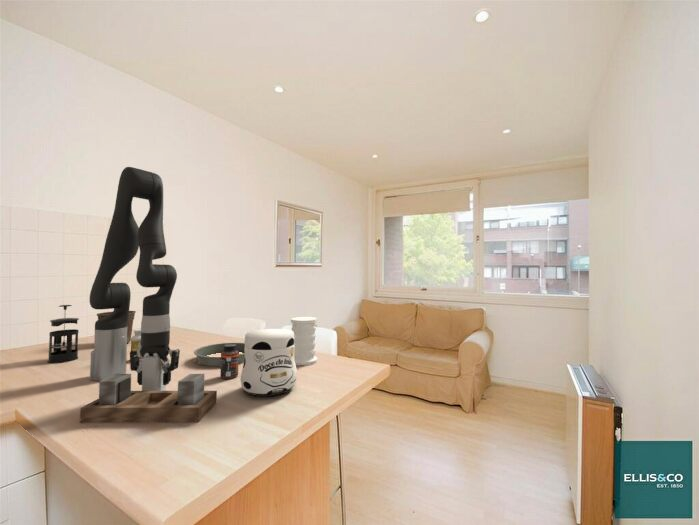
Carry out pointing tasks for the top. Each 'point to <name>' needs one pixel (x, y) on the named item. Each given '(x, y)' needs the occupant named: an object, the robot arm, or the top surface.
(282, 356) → the milk container
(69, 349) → the french press
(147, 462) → the top surface
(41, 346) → the top surface
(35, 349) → the top surface
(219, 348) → the cake pan
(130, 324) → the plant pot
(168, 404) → the wooden slotted rack
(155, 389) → the skincare box
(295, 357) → the decorative container
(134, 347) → the supplement bottle
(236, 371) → the supplement bottle
